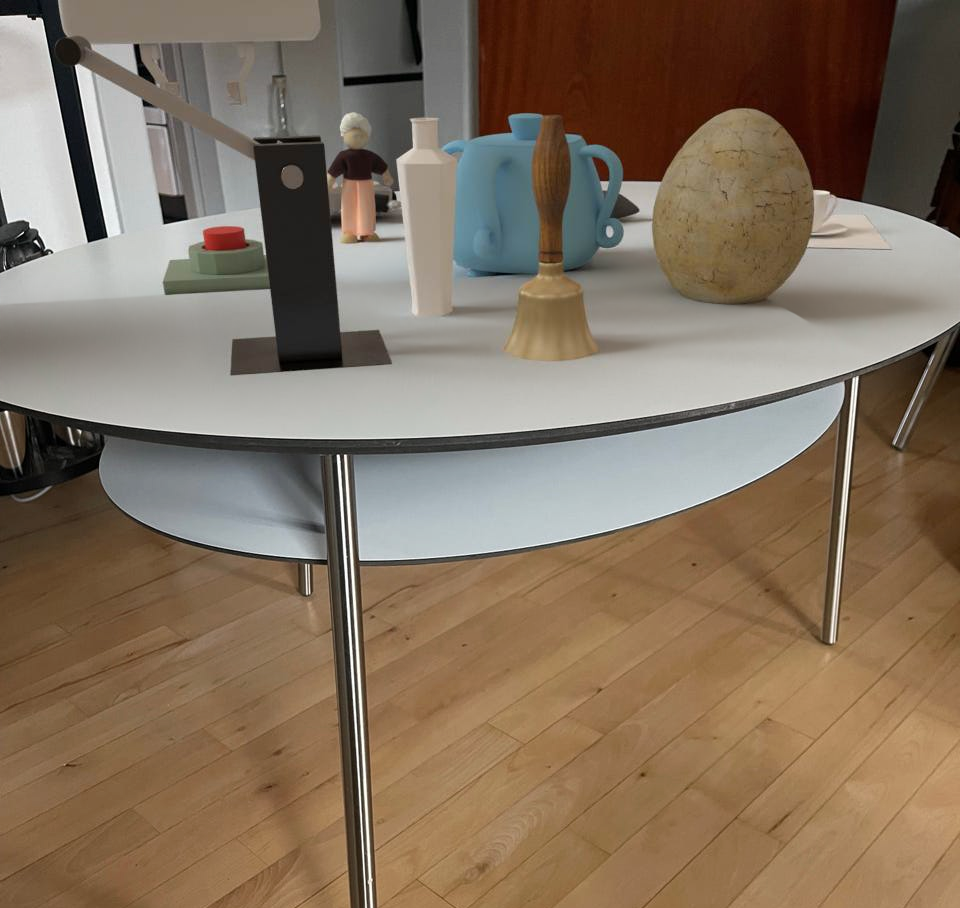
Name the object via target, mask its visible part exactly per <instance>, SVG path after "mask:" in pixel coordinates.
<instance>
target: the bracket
mask: <svg viewBox="0 0 960 908" xmlns="http://www.w3.org/2000/svg"><path fill="white" fill-rule="evenodd" d="M252 139H253V140H254V141H256V142H258V143H260V144H254V145H253V149H254V157H255V161H254V165H255V172H256V183H257V190H258V191H257V192H258V199H259V208H260V216H261V223H262V231H263V241H264V251H265V255H266V259H267V267H268V275H269V284H270V289H269V292H270V301H271V307H272V317H273V325H274V333H275V336H262V337H261V336H260V337H245V338H244V337H243V338H233V339H232V340H231V356H230V369H229V370H230V371H229V376H243V375H259V374H272V373H286V372H301V371H315V370H329V369H331V370H332V369H343V368H344V369H345V368H357V367H358V368H359V367H374V366H375V367H376V366H388V365H393V362H392V359H391V356H390V353H389V351H388V349H387V346H386V344H385V341H384V338H383V336H382V334H381V331H380V329H370V330H369V329H368V330H367V329H366V330H354V331H341V324H340V312H339V301H338V300H339V299H338V289H337V276H336V265H335V264H336V263H335V255H334V242H333V229H332V220H331V219H332V218H331V215H330V205H329V193H328V181H327V174H328V169H327V159H326V149H325V143H324V141H322V137H321V135H320V134H314V135H288V136H261V137H260V136H258V137H257V136H256V137H255V136H254V137H253V138H252ZM277 141H281V142H283V143H277Z"/></svg>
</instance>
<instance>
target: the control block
mask: <svg viewBox="0 0 960 908" xmlns="http://www.w3.org/2000/svg"><path fill="white" fill-rule="evenodd" d="M245 240H246V248H242V249H236V250H227V251H212V250H205V243H204V241H200V242H197V243H194V244H191V245H189V246H188V251H187V253H188V258H186V259H185V258H184V259H183V258H181V259H180V258H179V259H169V262H168V263H167V267H166V270H165V273H164V276H163V279H162V287H163V293H164V296H172V295H173V296H174V295H190V294H208V293H223V292H224V293H225V292H239V291H241V292H242V291H259V290H270V284H269V275H268V267H267V259H266V254H265V253H264V245H263V242H262V241H258V240H255V239H250V238H245Z"/></svg>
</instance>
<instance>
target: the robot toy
mask: <svg viewBox="0 0 960 908" xmlns="http://www.w3.org/2000/svg"><path fill="white" fill-rule="evenodd" d="M373 183H374V195H375V210H376V216H377V217H378V216H380V215H381V214H382V213H384V214H386V213H389V211H392V210H398V209H400V208H402V206H401V200H398V198H397V194H396V192H395V191H394V190H393V189H392V188H391V187H390V186H383V185H382V184H381V183H380V181H379V182H378V181H375V180H373ZM341 196H342V183H341V184H339V183H337V182H335V183H334V184H333V189H332V191H331V192H329V205H330V216H336V215H337V214H338V213H340V212H341Z"/></svg>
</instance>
